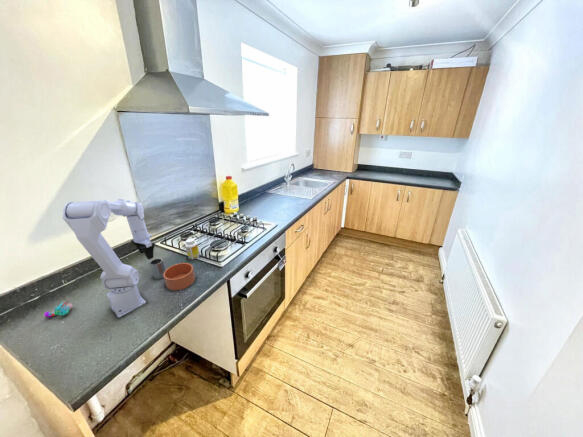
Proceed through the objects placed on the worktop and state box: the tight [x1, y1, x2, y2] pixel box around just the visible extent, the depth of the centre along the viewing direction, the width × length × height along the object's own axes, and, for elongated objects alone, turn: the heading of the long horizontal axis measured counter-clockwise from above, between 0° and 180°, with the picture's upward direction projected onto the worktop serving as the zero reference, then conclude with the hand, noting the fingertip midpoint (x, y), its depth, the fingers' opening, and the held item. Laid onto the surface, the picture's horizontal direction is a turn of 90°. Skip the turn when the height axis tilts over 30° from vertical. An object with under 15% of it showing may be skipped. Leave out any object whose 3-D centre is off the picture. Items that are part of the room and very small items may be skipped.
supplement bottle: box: [184, 237, 200, 260], centre depth 118 cm, size 6×6×10 cm
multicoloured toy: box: [43, 301, 73, 318], centre depth 86 cm, size 5×8×7 cm
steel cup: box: [149, 257, 166, 280], centre depth 105 cm, size 5×5×8 cm
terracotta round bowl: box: [163, 262, 196, 291], centre depth 102 cm, size 12×12×6 cm
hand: (146, 255), depth 105 cm, fingers open, 7 cm apart
